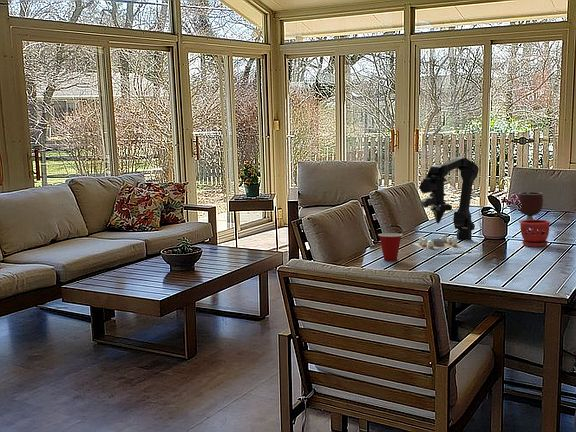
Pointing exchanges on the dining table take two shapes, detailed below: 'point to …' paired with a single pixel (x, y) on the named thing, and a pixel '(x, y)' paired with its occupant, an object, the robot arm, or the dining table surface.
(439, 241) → the dark grey hexagonal block
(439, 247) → the board
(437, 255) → the mat
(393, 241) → the plastic cup
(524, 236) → the plant pot
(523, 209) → the mate gourd
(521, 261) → the dining table surface
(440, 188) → the robot arm
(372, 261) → the dining table surface
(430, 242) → the steel spacers
